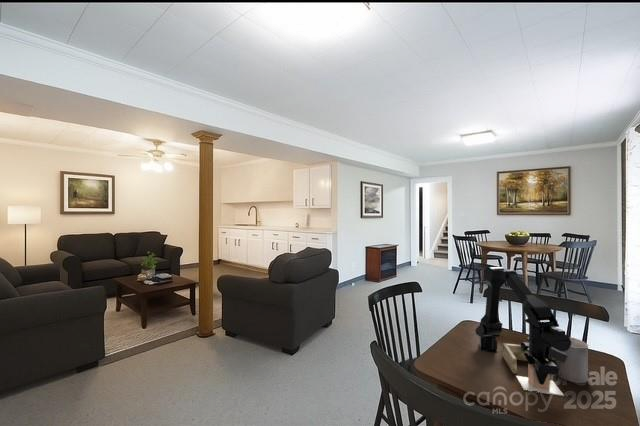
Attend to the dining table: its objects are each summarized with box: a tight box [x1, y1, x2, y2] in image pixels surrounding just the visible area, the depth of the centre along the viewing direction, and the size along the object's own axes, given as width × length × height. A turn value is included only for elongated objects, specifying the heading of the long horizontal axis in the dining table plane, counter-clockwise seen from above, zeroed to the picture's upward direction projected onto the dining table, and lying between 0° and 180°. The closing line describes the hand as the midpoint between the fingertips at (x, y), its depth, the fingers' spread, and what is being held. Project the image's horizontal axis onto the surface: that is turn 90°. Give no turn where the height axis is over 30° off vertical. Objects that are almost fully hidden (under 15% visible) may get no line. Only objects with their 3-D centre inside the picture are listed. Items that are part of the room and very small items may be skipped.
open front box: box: [502, 342, 549, 374], centre depth 123 cm, size 12×14×6 cm
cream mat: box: [515, 375, 565, 397], centre depth 110 cm, size 12×9×1 cm
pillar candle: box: [555, 336, 589, 384], centre depth 115 cm, size 10×10×15 cm
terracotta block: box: [527, 363, 551, 389], centre depth 110 cm, size 5×5×6 cm
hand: (538, 380), depth 110 cm, fingers closed on terracotta block, 5 cm apart
